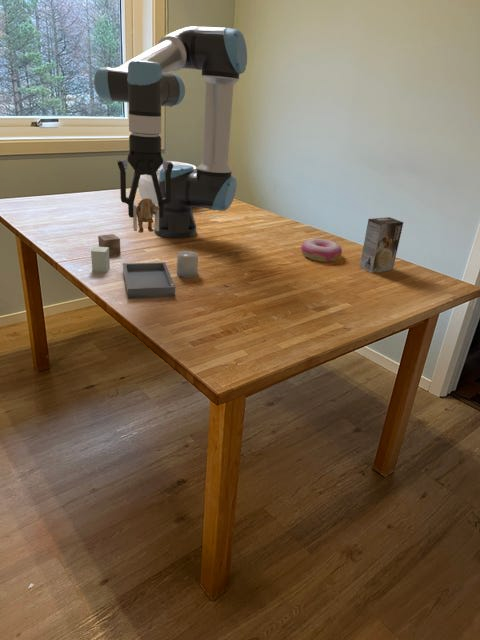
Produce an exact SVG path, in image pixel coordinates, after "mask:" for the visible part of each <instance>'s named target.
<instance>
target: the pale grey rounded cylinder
mask: <svg viewBox="0 0 480 640" xmlns="http://www.w3.org/2000/svg"><path fill="white" fill-rule="evenodd" d="M198 270H199V253H197V252H195V251H191V250H182V251H178V252H177V255H176V276H178V277H180V278H184V279H192V278H196V277H198V275H199V274H198Z"/></svg>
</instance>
